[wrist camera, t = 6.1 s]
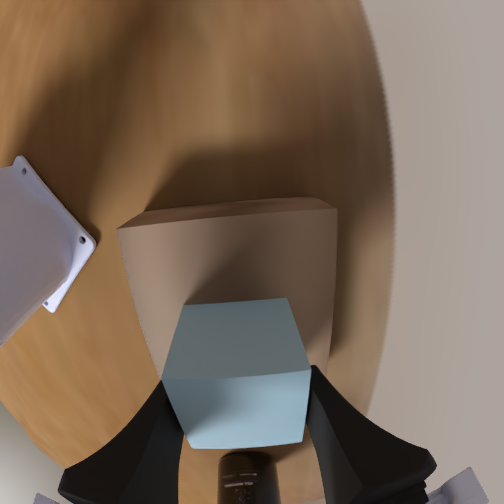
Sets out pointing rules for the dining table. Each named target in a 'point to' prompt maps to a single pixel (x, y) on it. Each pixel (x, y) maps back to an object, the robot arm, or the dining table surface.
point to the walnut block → (234, 264)
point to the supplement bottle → (248, 479)
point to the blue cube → (238, 375)
